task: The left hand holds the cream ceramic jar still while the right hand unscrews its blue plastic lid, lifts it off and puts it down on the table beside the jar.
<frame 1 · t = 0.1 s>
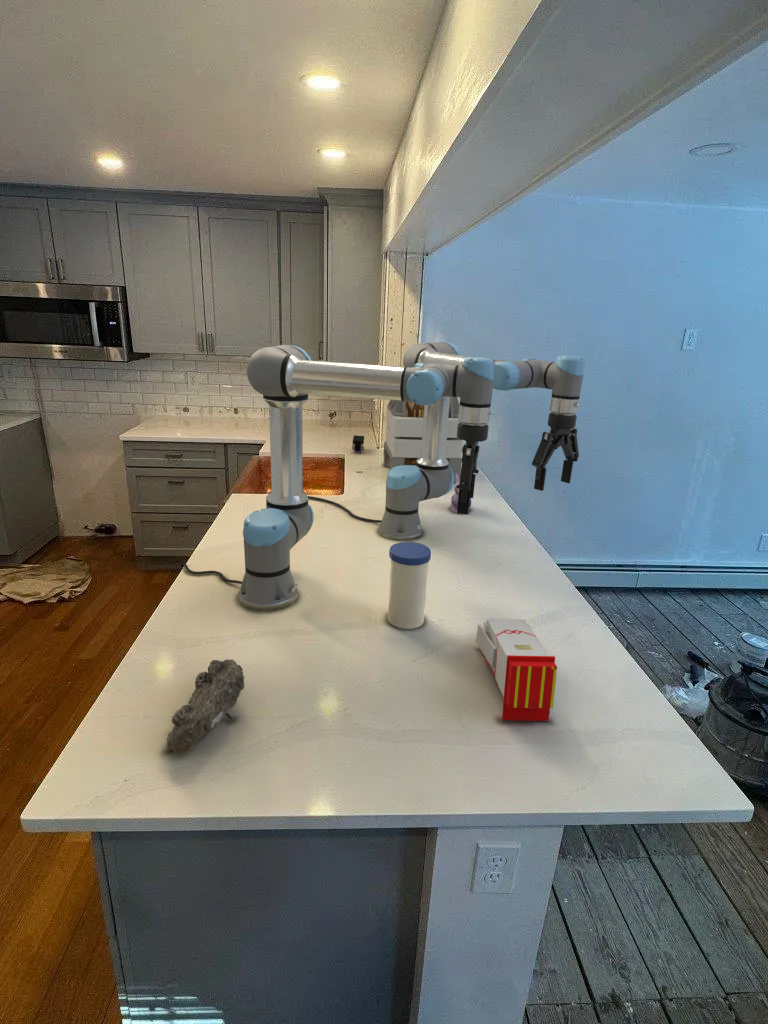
left hand: (465, 505, 146), 28 cm above the counter, tool pointing down, fingers open, 13 cm apart
right hand: (552, 485, 166), 28 cm above the counter, tool pointing down, fingers open, 13 cm apart
lid: (410, 551, 139), point 19 cm above the counter, screwed on, not yet turned
figurine: (460, 510, 227), on the counter
toy: (508, 678, 123), on the counter
light grey boxy frame: (419, 473, 275), on the counter
figurine character: (358, 451, 311), on the counter
jar: (405, 619, 145), on the counter
fossil: (212, 717, 108), on the counter
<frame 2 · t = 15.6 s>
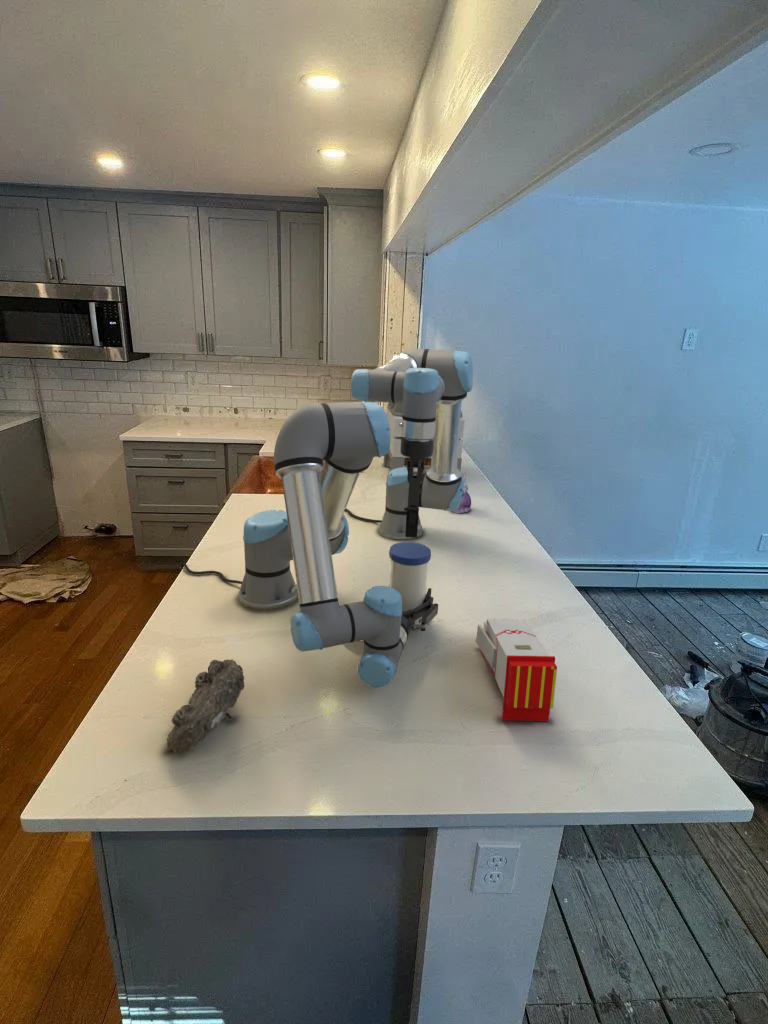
left hand: (410, 590, 147), 6 cm above the counter, tool horizontal, fingers closed on jar, 9 cm apart
right hand: (411, 527, 137), 25 cm above the counter, tool pointing down, fingers open, 11 cm apart
jar: (405, 619, 145), on the counter, touching left hand
everything else where it was.
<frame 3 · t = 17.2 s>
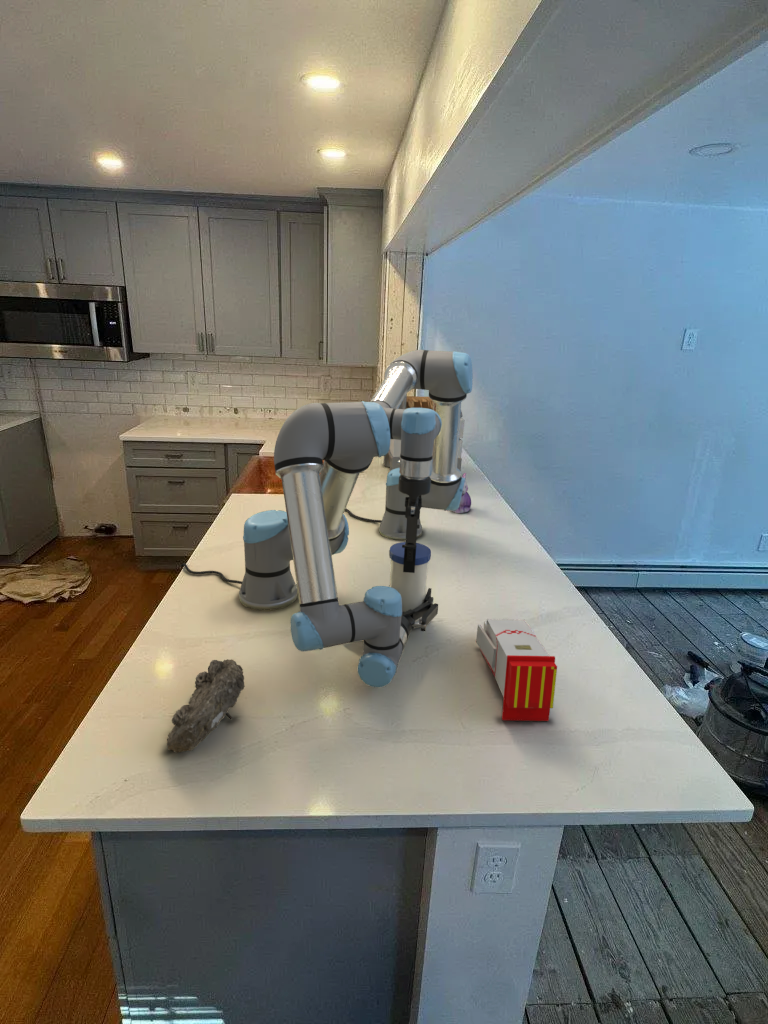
left hand: (410, 590, 147), 6 cm above the counter, tool horizontal, fingers closed on jar, 9 cm apart
right hand: (409, 562, 140), 16 cm above the counter, tool pointing down, fingers closed on lid, 10 cm apart
lid: (410, 551, 139), point 19 cm above the counter, screwed on, not yet turned, touching right hand
jar: (405, 619, 145), on the counter, touching left hand
everything else where it was.
when the right hand's fingers open (16 cm above the counter, at t = 18.8 s): lid stays where it is, point 19 cm above the counter.
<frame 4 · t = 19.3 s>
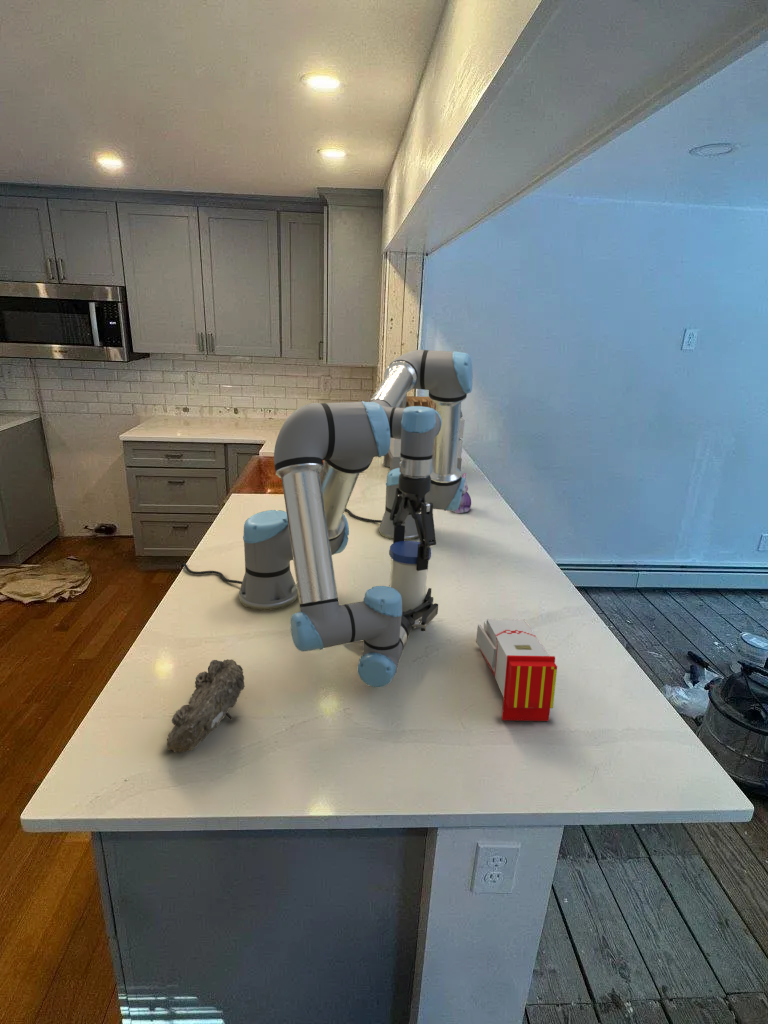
left hand: (410, 589, 147), 6 cm above the counter, tool horizontal, fingers closed on jar, 9 cm apart
right hand: (409, 559, 139), 17 cm above the counter, tool pointing down, fingers open, 11 cm apart
lid: (410, 549, 139), point 19 cm above the counter, turned 102° so far, risen 0.3 cm, still on its thread
jar: (405, 619, 145), on the counter, touching left hand
everything else where it was.
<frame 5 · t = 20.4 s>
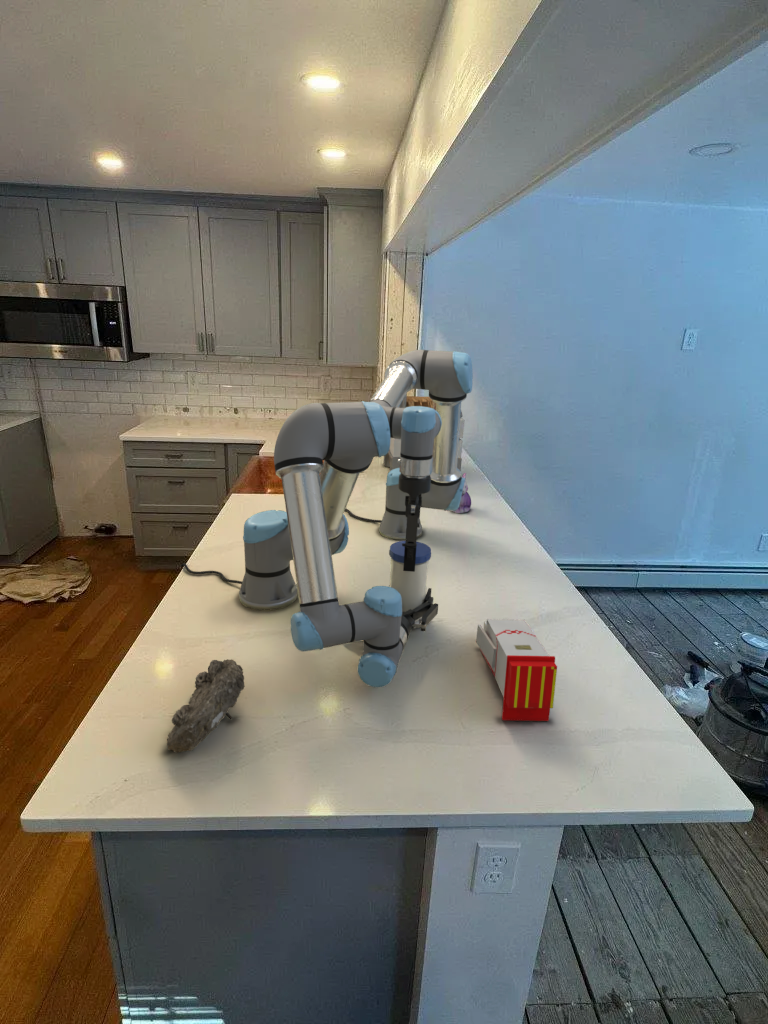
left hand: (410, 590, 147), 6 cm above the counter, tool horizontal, fingers closed on jar, 9 cm apart
right hand: (409, 561, 140), 16 cm above the counter, tool pointing down, fingers closed on lid, 10 cm apart
lid: (410, 549, 139), point 19 cm above the counter, turned 102° so far, risen 0.3 cm, still on its thread, touching right hand
jar: (405, 619, 145), on the counter, touching left hand
everything else where it was.
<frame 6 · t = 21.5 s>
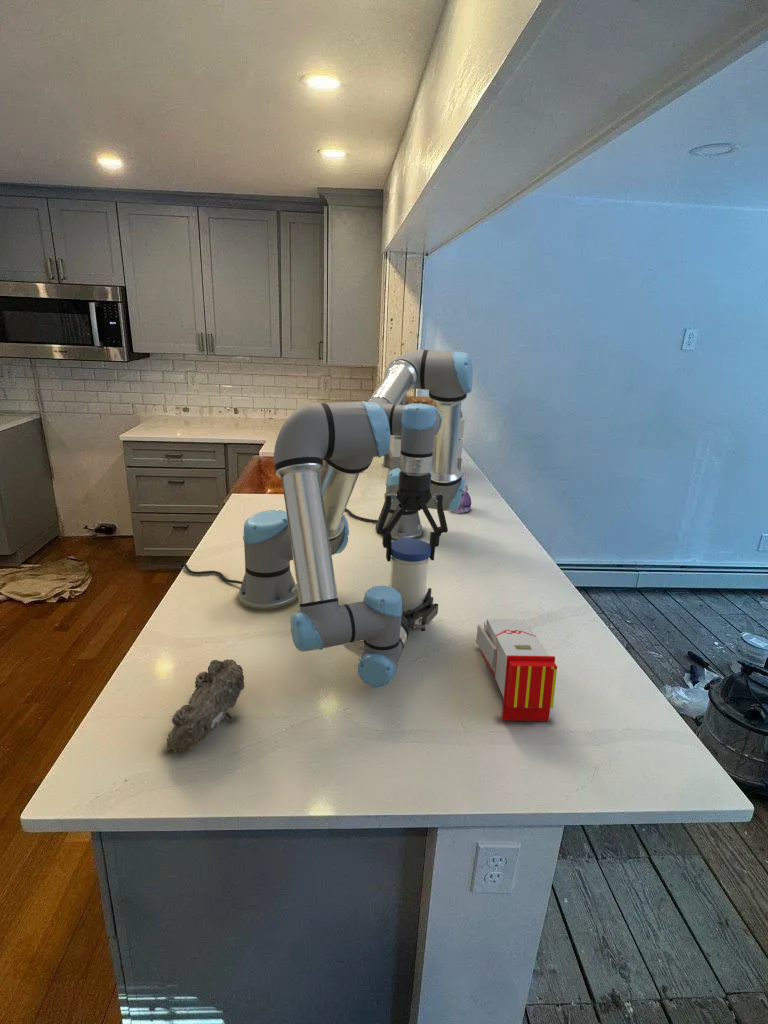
left hand: (410, 590, 147), 6 cm above the counter, tool horizontal, fingers closed on jar, 9 cm apart
right hand: (409, 558, 139), 17 cm above the counter, tool pointing down, fingers closed on lid, 10 cm apart
lid: (410, 547, 138), point 20 cm above the counter, off its thread, touching right hand
jar: (405, 619, 145), on the counter, touching left hand
everything else where it was.
when the right hand's fingers open (0 cm above the counter, at t = 26.5 s): lid drops 2 cm, point 1 cm above the counter.
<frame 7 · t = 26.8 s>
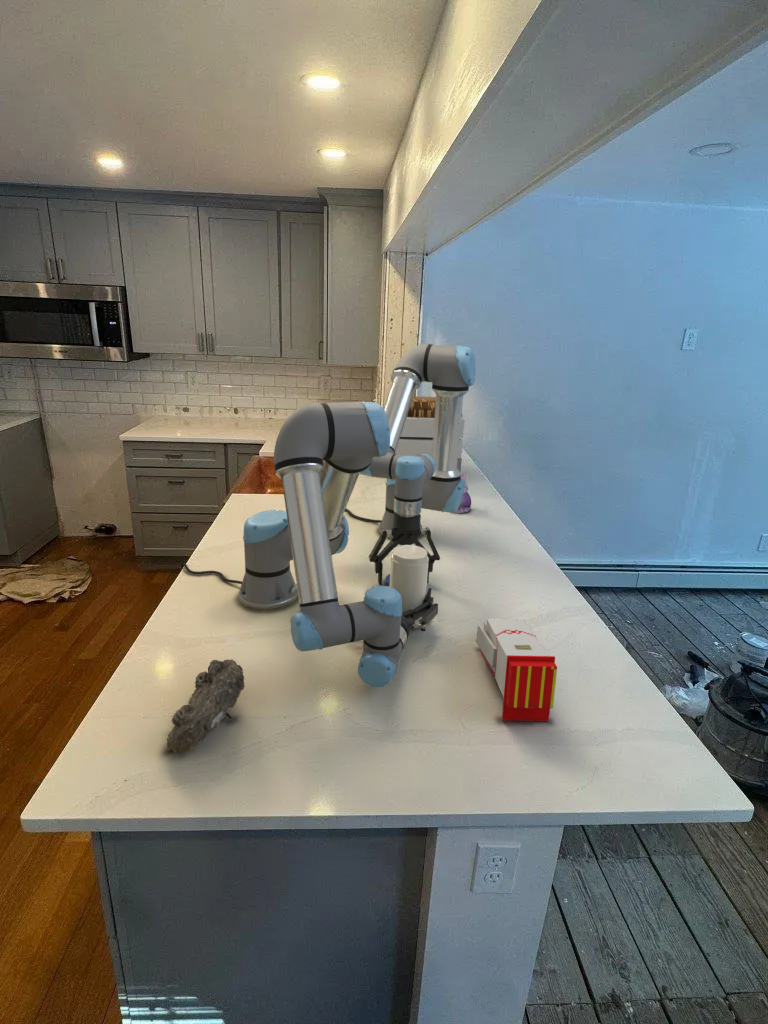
left hand: (410, 590, 147), 6 cm above the counter, tool horizontal, fingers closed on jar, 9 cm apart
right hand: (403, 582, 163), 1 cm above the counter, tool pointing down, fingers open, 13 cm apart
lid: (402, 580, 162), point 1 cm above the counter, off its thread
jar: (405, 619, 145), on the counter, touching left hand
everything else where it was.
when the left hand's fingers open (6 cm above the counter, at t = 27.6 s): jar stays where it is, on the counter.
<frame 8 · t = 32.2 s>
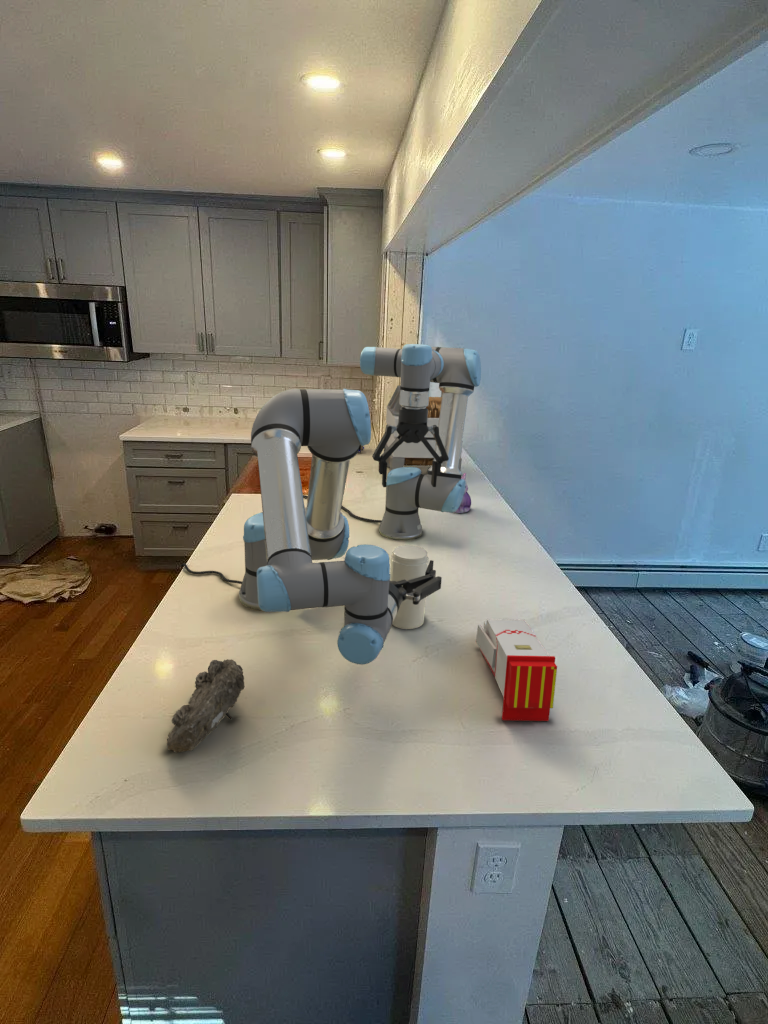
left hand: (401, 561, 128), 21 cm above the counter, tool horizontal, fingers open, 13 cm apart
right hand: (408, 485, 153), 30 cm above the counter, tool pointing down, fingers open, 13 cm apart
jar: (405, 619, 145), on the counter
everything else where it was.
at the end: lid came off its thread; lid point 1.5 cm above the counter; the left hand is holding nothing; the right hand is holding nothing; jar tilted 0°; jar moved 0.0 cm from its start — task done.
